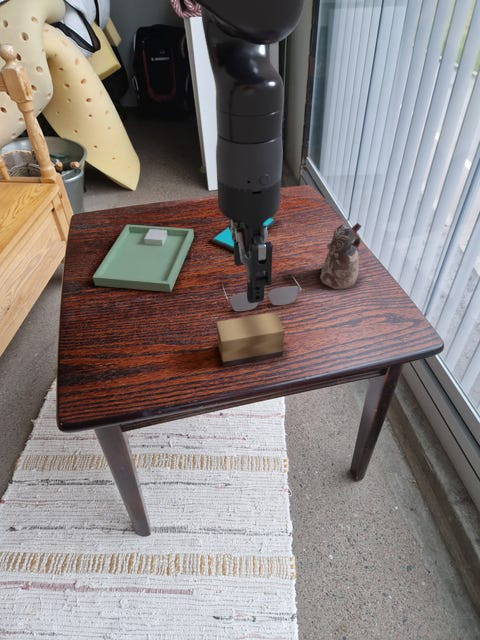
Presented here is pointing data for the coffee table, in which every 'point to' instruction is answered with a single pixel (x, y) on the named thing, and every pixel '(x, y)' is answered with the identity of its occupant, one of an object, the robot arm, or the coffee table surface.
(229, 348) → the eraser
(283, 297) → the eyeglasses
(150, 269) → the tray
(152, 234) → the chalk lump
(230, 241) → the smartphone
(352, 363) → the coffee table surface
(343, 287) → the figurine
